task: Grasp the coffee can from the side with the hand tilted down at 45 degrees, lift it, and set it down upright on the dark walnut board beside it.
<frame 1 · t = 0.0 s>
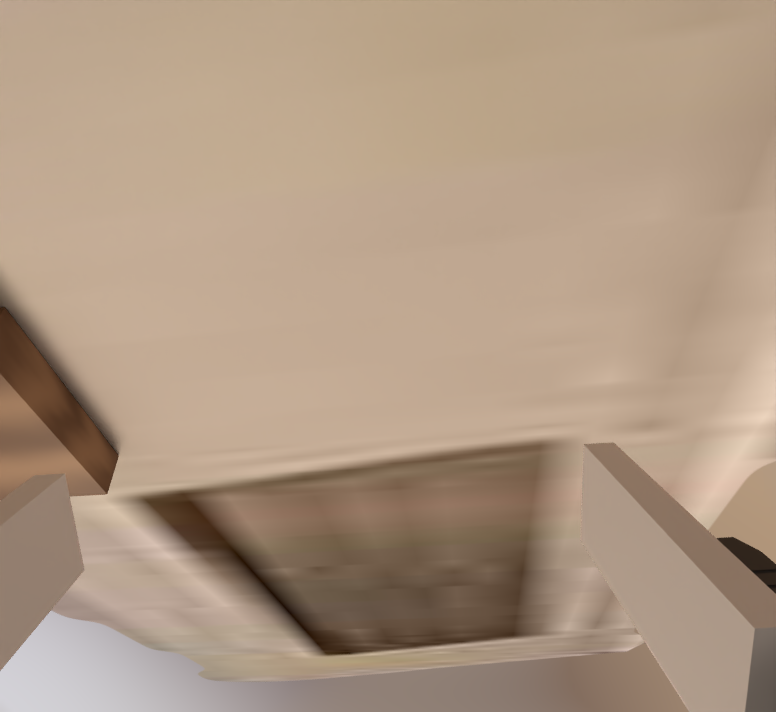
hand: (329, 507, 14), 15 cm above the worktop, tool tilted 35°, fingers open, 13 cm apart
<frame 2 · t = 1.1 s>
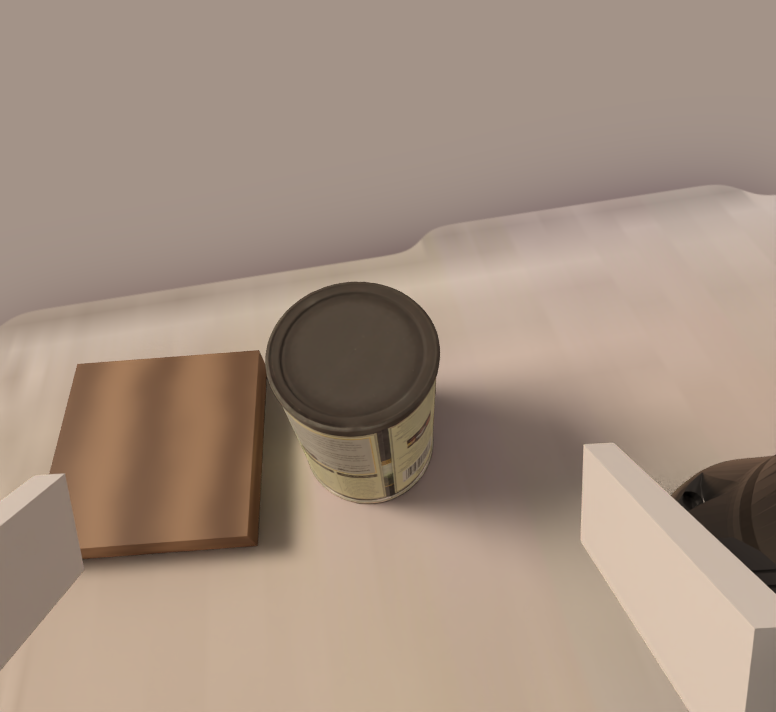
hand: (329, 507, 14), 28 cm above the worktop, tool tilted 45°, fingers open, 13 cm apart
coffee can: (368, 442, 45), on the worktop
walnut board: (169, 456, 45), on the worktop
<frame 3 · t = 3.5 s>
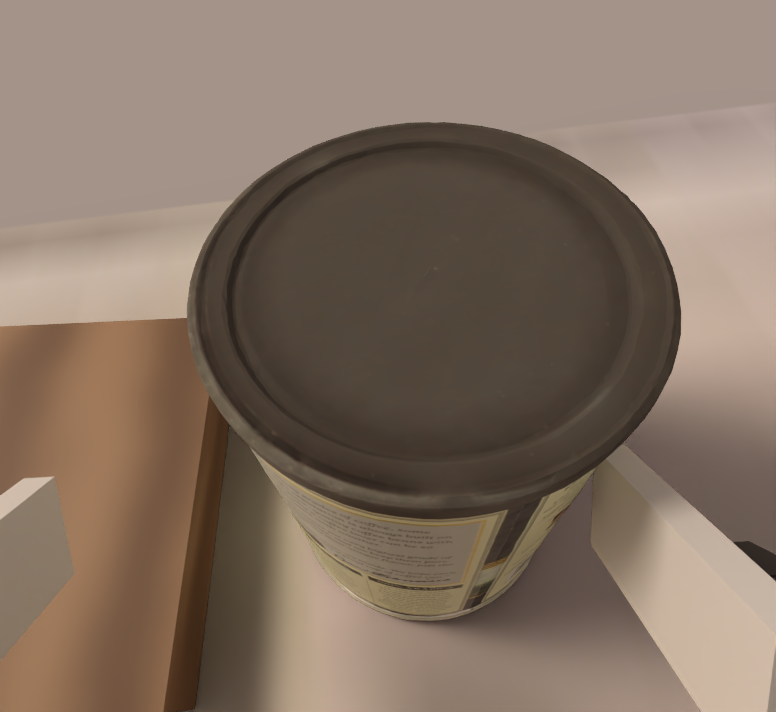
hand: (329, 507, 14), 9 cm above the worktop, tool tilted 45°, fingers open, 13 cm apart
coffee can: (420, 492, 24), on the worktop, touching gripper
walnut board: (45, 508, 24), on the worktop
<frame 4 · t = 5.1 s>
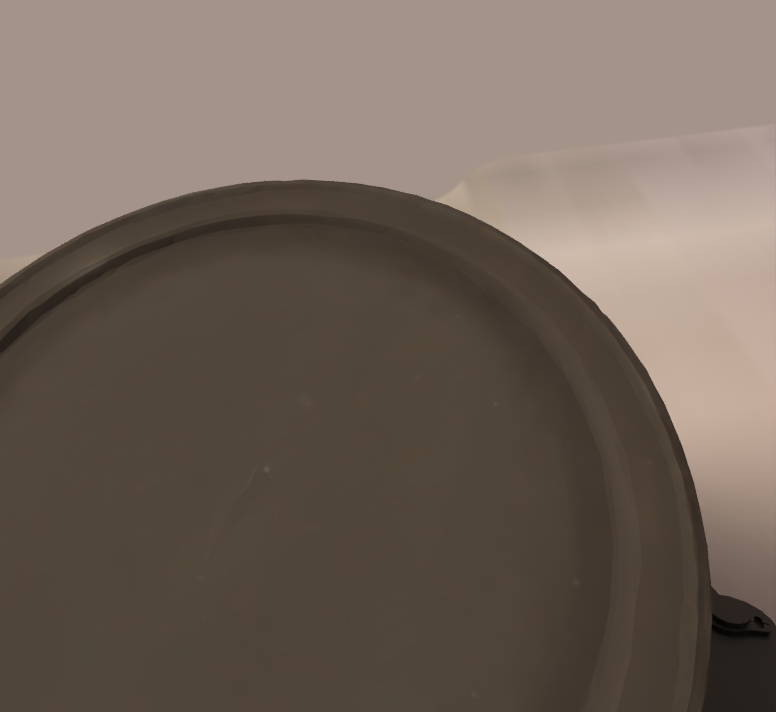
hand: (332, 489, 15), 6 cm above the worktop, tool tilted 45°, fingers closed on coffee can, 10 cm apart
coffee can: (350, 623, 19), on the worktop, touching gripper
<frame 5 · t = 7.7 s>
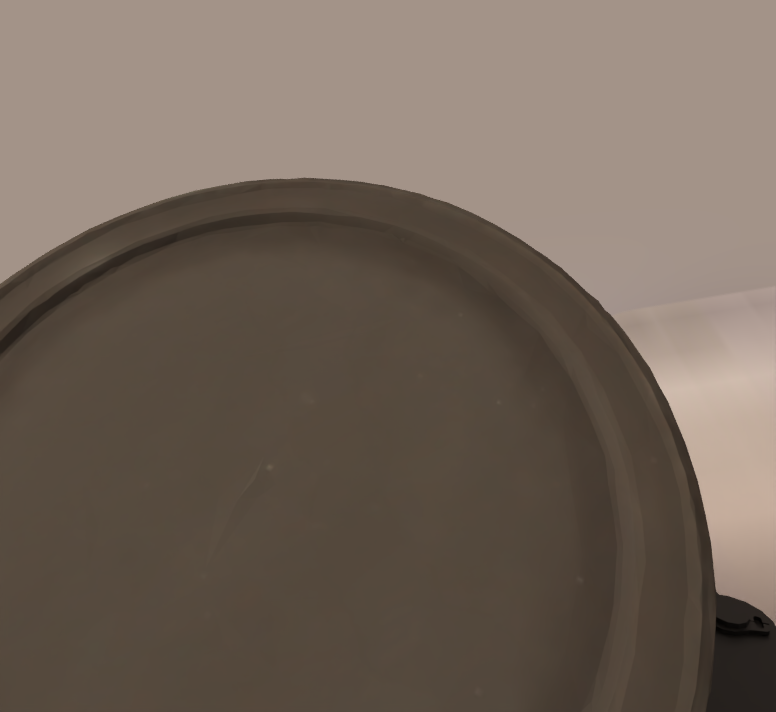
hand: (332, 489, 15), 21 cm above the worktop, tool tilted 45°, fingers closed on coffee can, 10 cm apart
coffee can: (351, 622, 19), point 15 cm above the worktop, touching gripper
when the fingers open (10 cm above the worktop, at t = 10.3 s): coffee can drops 1 cm, resting on walnut board.
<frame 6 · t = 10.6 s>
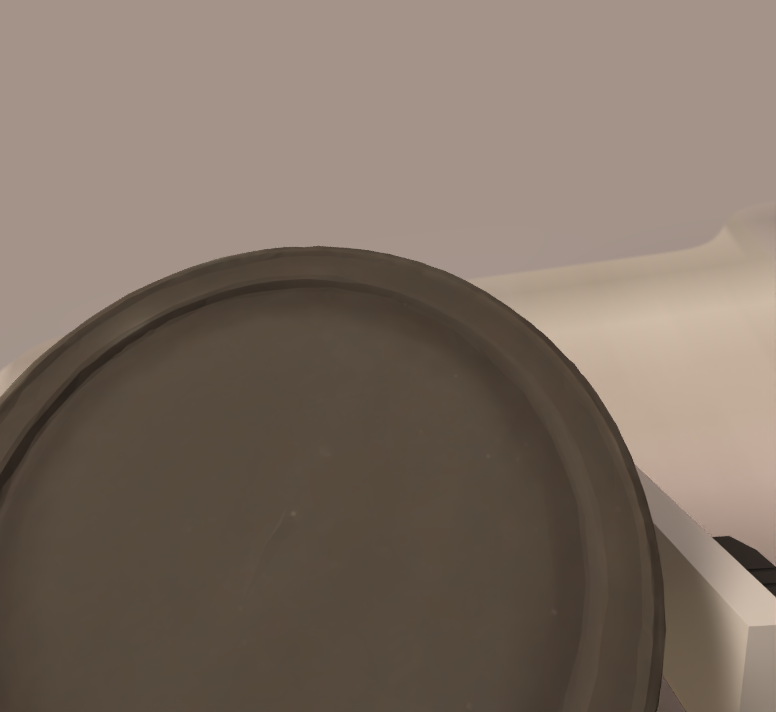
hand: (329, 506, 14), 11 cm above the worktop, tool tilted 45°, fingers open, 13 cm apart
coffee can: (354, 630, 20), point 3 cm above the worktop, touching walnut board
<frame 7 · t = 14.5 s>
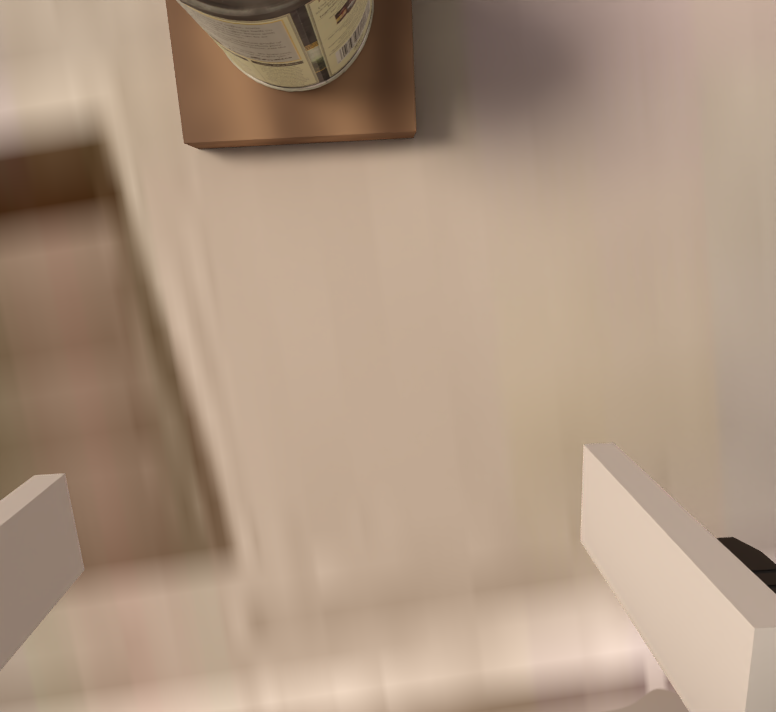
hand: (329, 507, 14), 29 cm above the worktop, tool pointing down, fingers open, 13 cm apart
coffee can: (290, 4, 35), point 3 cm above the worktop, touching walnut board
walnut board: (296, 24, 37), on the worktop
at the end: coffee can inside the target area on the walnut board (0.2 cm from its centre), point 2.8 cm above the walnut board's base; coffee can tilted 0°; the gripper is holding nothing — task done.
